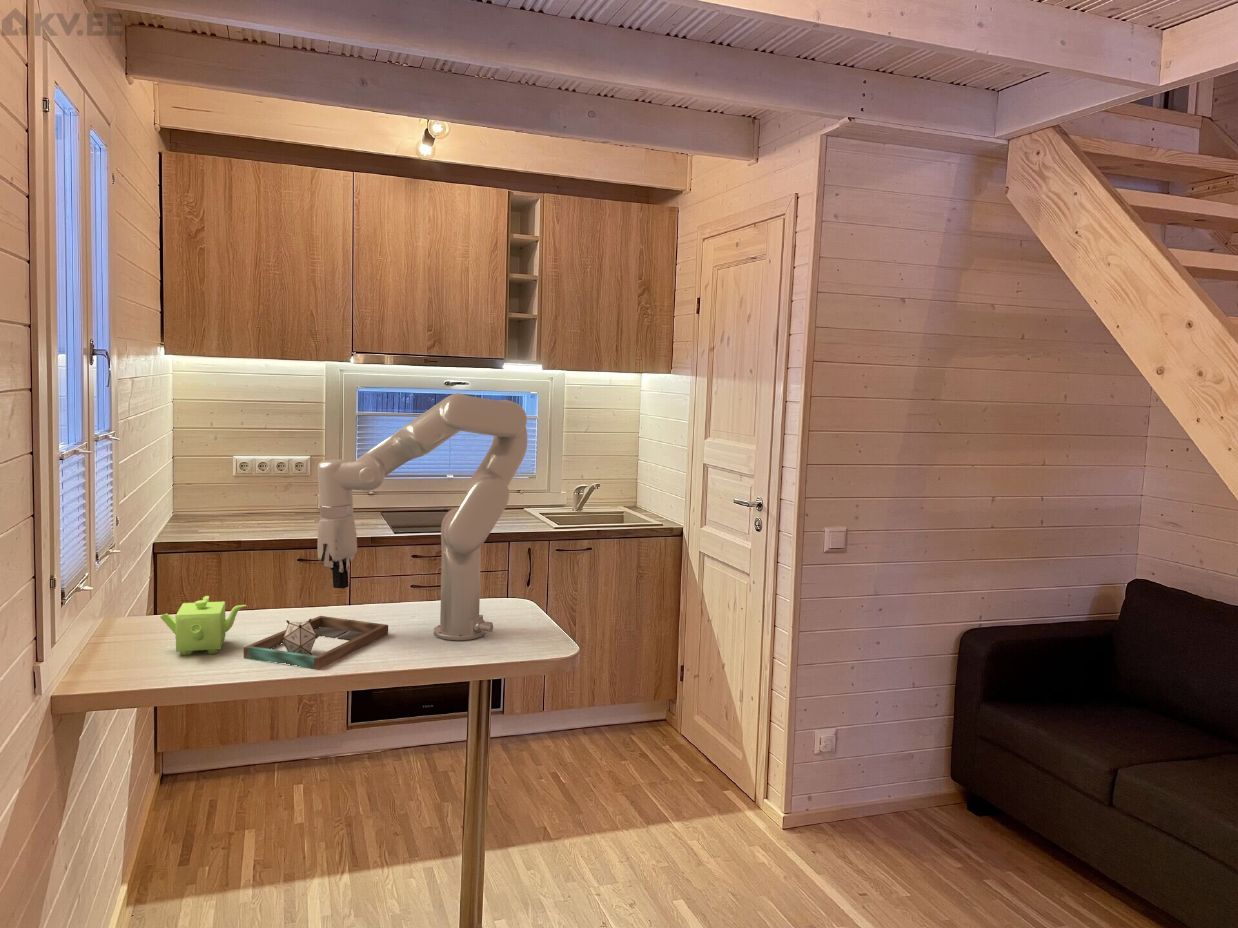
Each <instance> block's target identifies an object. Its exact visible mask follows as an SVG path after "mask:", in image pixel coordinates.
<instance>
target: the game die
mask: <svg viewBox="0 0 1238 928" xmlns="http://www.w3.org/2000/svg"><path fill="white" fill-rule="evenodd" d="M311 619H312V618H309V620H307V621H308V622H306V621H297V622H290V621H289V620H288V619H286V623H287V626H286V629H285V630H286V631H285V634H284V636H283V637H281V638H280V640H279V641H283V643H284V644H283V645H284V647H285V649H286V651H287V652H293V653H300V654H308V655H313V653H312V649H313V647H314V644H315V642H316V640H317V639H318V638H319V637H321V636H320V635H316V633H315V630H314V629H313V627H312V625H311V624H310V621H311Z"/></svg>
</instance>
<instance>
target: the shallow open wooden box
mask: <svg viewBox="0 0 1238 928" xmlns="http://www.w3.org/2000/svg"><path fill="white" fill-rule="evenodd" d="M310 619H311V621H310V624H311V625H312V627H313V629H314V631H315V633H316V635H320V636H319V637H322V636H325V637H324V638H329V637H330V639H335V638H337V640H343V639H344V640H345V641H346V642H344V643H342V644H340V645H338V646H336V647H333V648H332V649H329V650H327V651H326V652H323V653H321V654H319V655H313V654H312V655H310V654H308V653H306V654H300V653H293V652H288V651H287V650H285V651H284V650H280V649H279V650H278V649H274V648H276V646H277V645H279V646H281V645H282V644H281V643H283V641H279V640H280V638H281V637H283V636H284V634H285V631H286V629H284V630H283V631H282V630H281V631H280V632H277V633H275V634H272V635H269V636H267V637H265V638H262V639H260V640H258V641H255V642H252V643H250V644H248V645H246V646H243V659H247V660H253V659H255V661H259V660H261V662H266V661H271V662H270V663H272V662H277V663H276V664H279V663H286V664H290V665H289V666H292V665H297V666H296V667H298V666H301V667H300V668H305V667H307V669H312V670H321V669H323V668H325V667H327V666H329V665H331V664H334V663H335V662H337V661H339V660H341V659H343V658H345V657H347V656H349V655H351V654H353V653H355V652H357V651H358V650H361V649H363V648H365V647H366V646H368V645H369V646H370V644H373V643H375V642H376V641H379V640H381V639H383V638H385V637H387V636H388V635H389V624H383V623H377V622H370V621H363V620H357V619H356V620H355V619H347V618H339V617H334V616H333V617H332V616H325V615H318V616H316V617H314V618H310ZM308 621H309V620H307V621H305V622H308ZM319 627H321V628H319ZM315 629H316V630H315ZM280 644H281V645H280ZM273 647H274V648H273ZM277 647H278V646H277ZM271 648H272V649H271ZM356 650H357V651H356ZM354 651H355V652H354ZM352 652H353V653H352ZM350 653H351V654H350ZM348 654H349V655H348Z"/></svg>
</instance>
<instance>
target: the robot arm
mask: <svg viewBox="0 0 1238 928" xmlns="http://www.w3.org/2000/svg"><path fill="white" fill-rule="evenodd" d="M527 420H528V419H527V413H526V411H525V409H524V408H523V407H522V406H521V405H520V404H519V403H517V402H514V401H512V400H509V399H501V400H499V399H498V400H497V399H489V398H483V397H477V396H472V395H468V394H467V395H466V394H464V393H452V394H450V395H449V396H446V397H445V398H443V399H442V400H441V401H439V402H438V403H436V404H435V405H433V406H432V407H431V408H429V409H428V410H426V411H425V412H423V413H421V414H420V415H419V416H417V417H416V418H414V419H413V420H412V421H410V422H409V423H407V424H406V425H404V426H403V427H401V428H400V429H399V430H398V431H397V430H396V432H395V433H393V434H392V435H391V436H389V437H387V438H386V439H384V440H383V441H381V442H380V443H378V444H377V445H376V446H374V447H372V448H371V449H369V450H368V451H366V452H365V453H364V454H362V455H360V457H358V458H357V459H356V460H355V461H348V460H347V459H340V458H339V459H338V458H337V459H326V460H322V461H320V462H319V463H318V465H317V481H318V496H319V497H318V498H319V515H320V516H319V517H320V519H319V520H318V526H317V528H318V529H317V560H318V561H320V562H323V567H324V568H328V569H330V572H331V573H332V587H333V588H334V589H346V588H348V587H349V585H350V584H349V569H350V563H351V561H352V560H354V558H355V555H356V553H357V551H358V539H357V538H358V537H357V529H356V524H355V518H354V516H355V515H354V503H353V502H354V501H353V491H364V492H365V491H367V492H369V491H370V492H371V491H374V490H376V489H378V488H379V487H381V486H382V484H383V483H384V480H385V477H387V476H388V475H389V474H391V473H392V472H394V471H395V470H397V469H398V468H399V467H402V465H405V464H407V463H408V462H410V461H411V460H414V459H418V458H421V457H424V456H425V455H427V454H430V453H431V452H433V451H434V450H435V449H436V448H438V447H440V446H441V445H442V444H444V443H445V442H447V441H448V440H449V439H451V438H452V437H454V436H455V435H457V434H459V432H466V433H471V434H478V435H487V436H492V437H493V438H492V442H491V445H490V447H489V449H488V451H487V452H486V454H485V457H484V458H483V459H482V461H481V463H480V464H479V465H478V467H477V469H476V471H474V473H473V475H472V476H471V478H470V479H469V481H467V484H466V495H465V497H464V498H463V500H462V502H461V504H460V505H459V506H458V507H457V506H456V507H454V508H451V509H450V510H449V511H447V512H446V514H444V517H443V519H442V521H441V527H440V540H441V543H440V545H441V546H440V547H441V548H440V549H441V567H440V568H441V572H440V617H439V618H440V624H439V625H437V626H435V627H434V628H433V634H434V636H435V637H437V638H439V639H442V640H447V641H469V640H471V641H472V640H475V639H478V638H481V637H483V636H484V635H485V634H486V632H488V633H492V632H493V630H494V624H493V622H492V621H486V620H484V615H482V614H480V603H481V602H480V599H481V598H480V597H481V596H480V595H481V594H480V593H481V567H482V566H481V564H482V563H481V557H482V556H481V553H482V552H481V546H482V545H483V544H484V543H485V541H486V540H487V538H488V537H489V536H490V534H491V533H492V531H493V529H494V528H495V525H496V524H497V522H498V521H499V519H500V518H501V516H502V514H503V513H504V512H505V510H506V507H507V505H508V503H509V500H510V490H509V485H510V483H511V481H512V480H513V478H514V476H515V475H516V473H517V471H518V469H519V467H520V466H521V464H522V462H523V460H524V457H525V455H526V452H527V447H528V431H527V427H526V426H527Z"/></svg>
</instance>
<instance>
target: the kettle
mask: <svg viewBox="0 0 1238 928" xmlns="http://www.w3.org/2000/svg"><path fill="white" fill-rule="evenodd" d="M246 606H247V604H239V605H235V606H234V607H232V609H231V610H230V613H229V616H228V617H227V619H226V601H210V596H209V595H205V596H203V597H202V599H201V600H196V601H194V602H183V603H182V604H181V606H180V607H179V609H178V611H177V613H176V615H175V618H174V617H172V616H171V615H170V614H169V613H168V612H167V613H163V614H160V616H159V617H160V619H161V620H162V621H163V622H164V623H165V624H166V626H167V627H168V628H169V630H171V631H172V633H173V634H174V635H175V652H181V653H180V655H181V656H189V655H192V654H193V652H195V651H207V654H209V653H215V654H217V653H216V652H218V651H219V650H221V648H222V646H223V643H224V642H225V641H224V640H225V638H226V633H227V632H229V631H230V629H232V627H233V625H234V622H235V621H236V616H237V614H238V612H239V611H240V610H241V609H243V608H245V607H246ZM218 653H219V652H218Z"/></svg>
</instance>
